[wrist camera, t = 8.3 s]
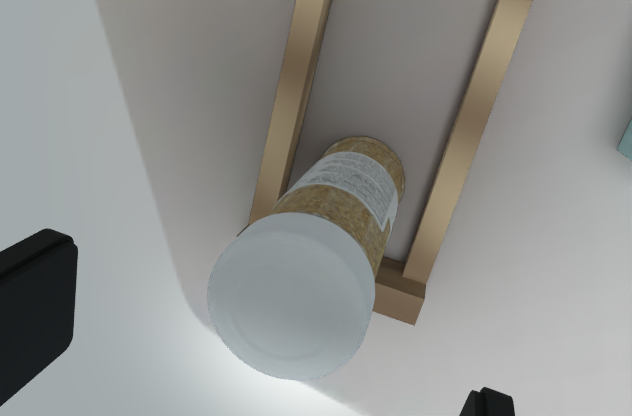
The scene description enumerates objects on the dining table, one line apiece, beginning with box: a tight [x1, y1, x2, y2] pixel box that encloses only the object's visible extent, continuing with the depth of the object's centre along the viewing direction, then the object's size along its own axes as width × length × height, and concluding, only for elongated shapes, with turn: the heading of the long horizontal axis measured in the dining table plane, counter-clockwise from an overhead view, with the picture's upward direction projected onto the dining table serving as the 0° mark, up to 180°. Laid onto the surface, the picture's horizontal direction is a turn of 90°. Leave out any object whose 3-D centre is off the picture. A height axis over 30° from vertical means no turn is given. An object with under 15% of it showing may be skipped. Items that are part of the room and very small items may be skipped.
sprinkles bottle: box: [207, 136, 405, 380], centre depth 20 cm, size 5×5×14 cm
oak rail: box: [237, 0, 533, 326], centre depth 23 cm, size 21×9×3 cm, turn 166°
